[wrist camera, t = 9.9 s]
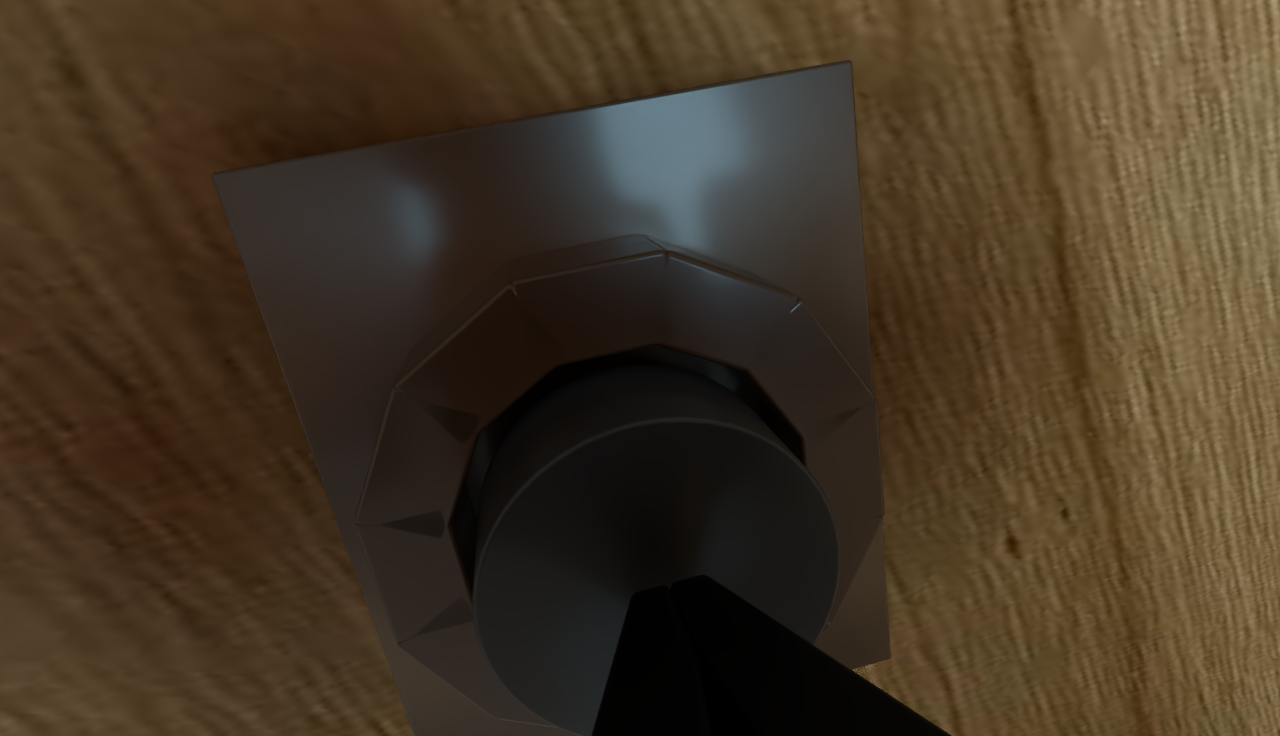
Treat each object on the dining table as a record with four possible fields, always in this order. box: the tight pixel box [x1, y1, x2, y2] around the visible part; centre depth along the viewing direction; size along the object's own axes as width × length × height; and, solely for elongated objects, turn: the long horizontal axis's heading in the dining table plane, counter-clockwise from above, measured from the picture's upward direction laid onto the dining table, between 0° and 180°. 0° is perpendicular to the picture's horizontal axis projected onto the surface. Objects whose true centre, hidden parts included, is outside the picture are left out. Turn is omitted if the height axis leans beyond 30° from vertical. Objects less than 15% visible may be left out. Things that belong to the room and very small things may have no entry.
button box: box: [212, 60, 891, 736], centre depth 12 cm, size 11×9×4 cm
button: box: [472, 364, 841, 736], centre depth 9 cm, size 4×4×2 cm
